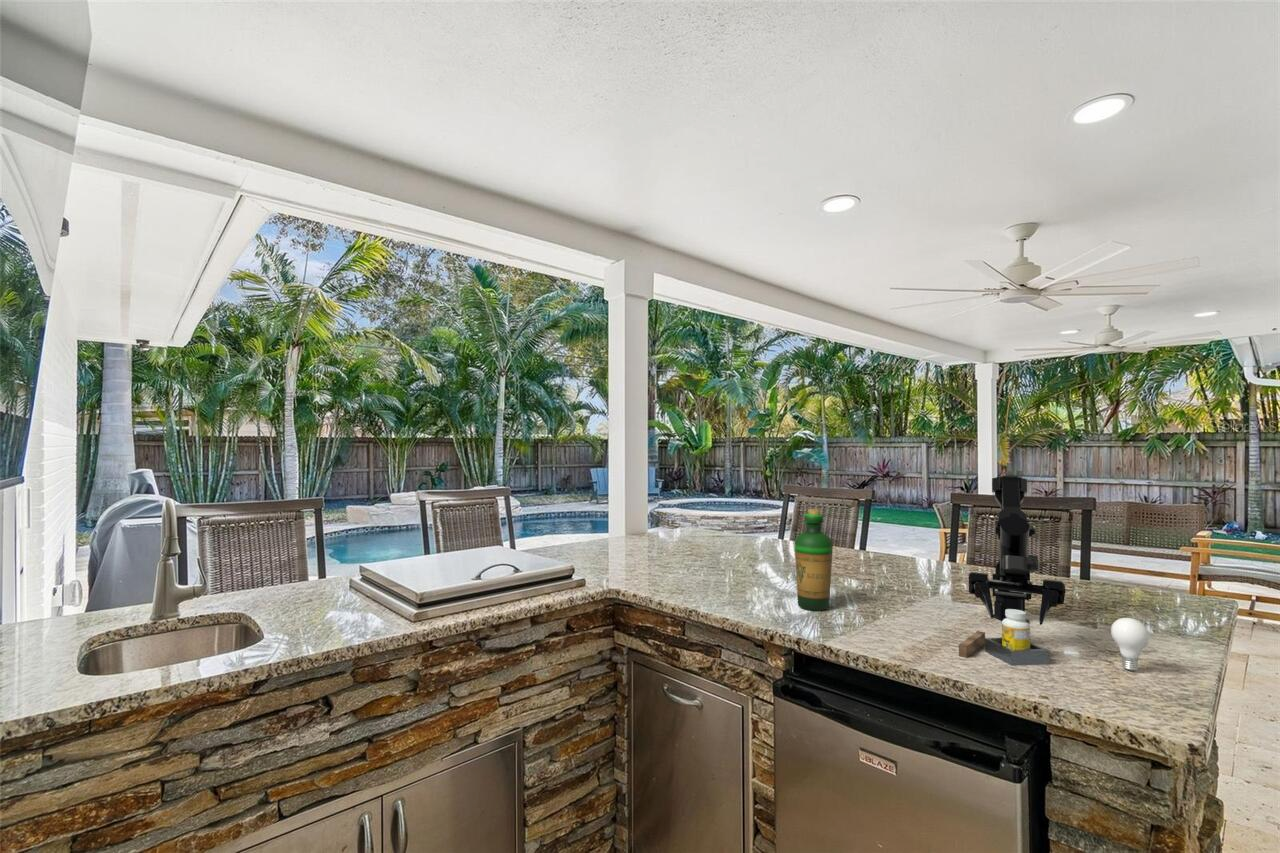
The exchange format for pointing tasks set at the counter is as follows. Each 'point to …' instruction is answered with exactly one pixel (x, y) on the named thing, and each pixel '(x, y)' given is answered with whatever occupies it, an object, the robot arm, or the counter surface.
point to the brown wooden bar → (971, 644)
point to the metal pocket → (1017, 653)
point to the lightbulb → (1130, 640)
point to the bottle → (813, 564)
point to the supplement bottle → (1015, 630)
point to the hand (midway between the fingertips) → (1016, 620)
